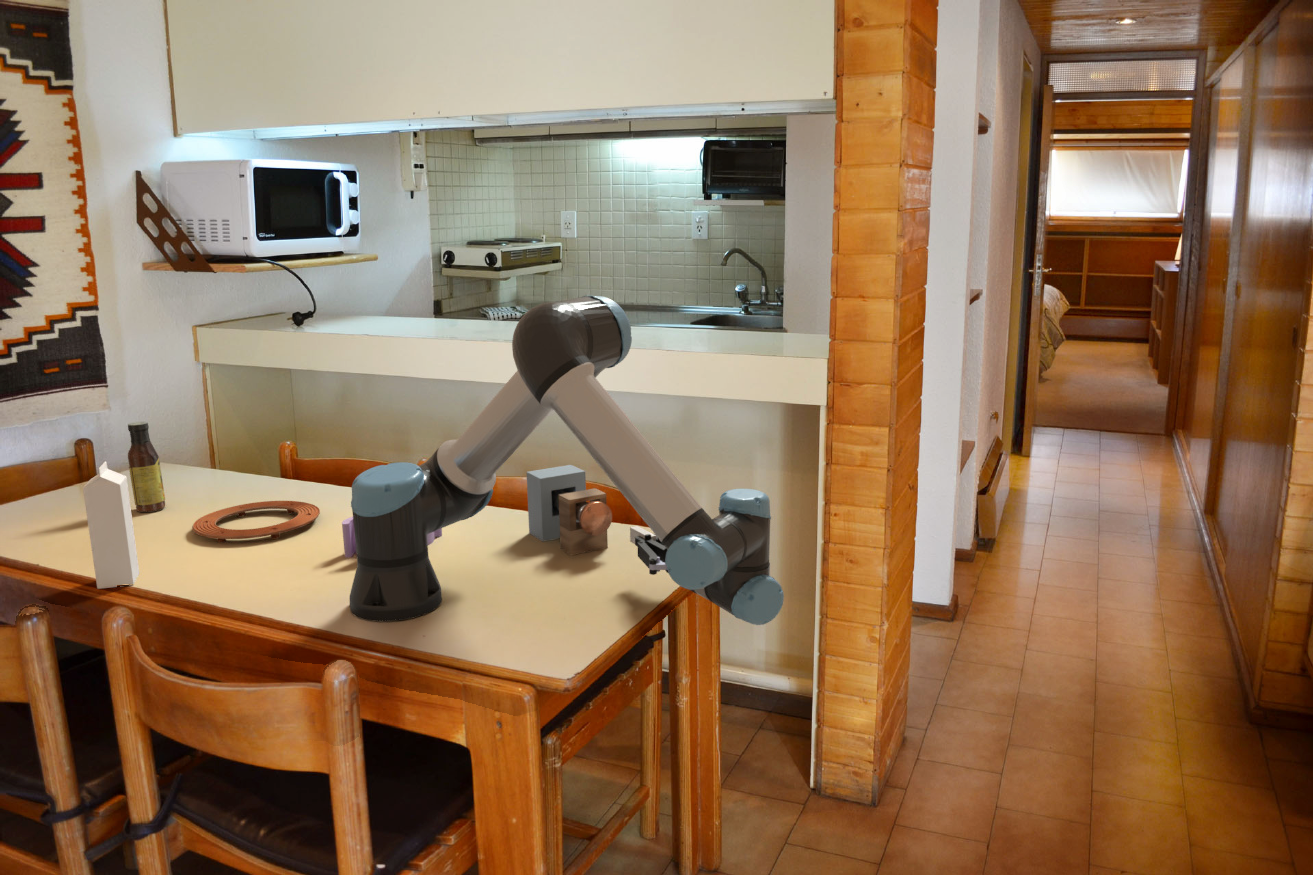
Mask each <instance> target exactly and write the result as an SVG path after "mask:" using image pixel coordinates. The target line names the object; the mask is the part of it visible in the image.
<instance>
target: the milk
mask: <svg viewBox="0 0 1313 875" xmlns="http://www.w3.org/2000/svg"><path fill="white" fill-rule="evenodd" d="M82 491H83V492H82V493H83V499H84V506H85V513H86V521H87V526H88V531H89V532H88V533H89V539H90V540H89V542H90V546H91V553H92V560H93V566H94V574H95V581H96V588H97V590H99V589H107V588H108V589H109V588H117V585H122V584H134V585H135V583H136V581H137V579H138V578H137V577H139V576H140V568H139V567H140V566H139V559H138V552H137V545H136V538H135V530H134V523H133V516H132V515H133V514H132V510H131V499H130V493H129V486H128V478H127V476H126V475H125V474H121V473H119V472H117V471H114V470H111V469H109V468H108V464H107V461H106V460H105V461H104V462H103V463H102V464H101V465H100V467H98V474H97V475H95V476H94V477H92V478H90V479H89V480H88V482H87V483H85V485H84V486H83V487H82ZM138 575H139V576H138ZM136 578H137V579H136ZM135 580H136V581H135ZM134 582H135V583H134Z"/></svg>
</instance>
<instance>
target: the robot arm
mask: <svg viewBox="0 0 1313 875" xmlns="http://www.w3.org/2000/svg"><path fill="white" fill-rule="evenodd" d="M632 341H633V339H632V327H631V323H630V319H629V318H628V315H627V314H626V312H625V310H624V309H623V308H622V307H621V306H620V305H619V304H618V303H617V302H616V301H614V300H612V299H610V298H609V297H607V296H603V295H590V294H589V295H587V294H586V295H583V296H580V297H576V298H571V299H565V300H559V301H550V302H545V303H544V302H543V303H539V304H537V305H535V306H533V307H532V308H530V309H529V310H528V311H526V312H524V315H523V316H521V318H520V319H519V321H518V322H517V324H516V326H515V328H514V332H513V335H512V342H511V343H512V344H511V347H512V357H513V359H514V360H513V361H514V364H515V367H516V369H517V370H516V371H515V372H514V373H513V375H512V376H511V377H510V378H509V379H508V380H507V382H506V383H505V384H504V385H503V387H502V388H501V389H500V390H499V391H498V392H497V393H496V394H495V396H494V397H493V398H492V399H491V400H490V401H489V403H487V405H486V406H485V407H484V408H483V410H482V411H481V412H480V413H479V414H478V415H477V417H476V418H474V420H473V421H472V422H471V423H470V425H469V426H468V427H467V428H466V429H465V431H464V432H462V433H461V435H460V436H459V437H458V438H457V439H455V438H454V439H449V440H446V441H444V442H442V443H441V445H440V446H439V447H438V448H437V449H436V450H435V451H434V452H433V454H432V455H431V456H430V457H429V458H428V459H427V460H425V462H424V463H421V464H420V465H419V464H418V465H417V464H415V463H411V462H405V461H402V462H390V463H388V464H386V465H385V464H380V465H376V466H374V467H371V468H369V469H367V470H364V471H363V472H361V473H360V474H358V475H357V476H356V477H355V479H354V480H353V482H352V485H351V501H350V503H351V504H350V507H351V511H352V517H353V522H354V532H355V542H356V553H355V554H356V561H357V563H356V564H357V565H356V569H355V574H354V578H353V581H352V585H351V589H350V593H349V600H348V601H349V609H350V612H351V614H352V615H353V616H355V617H356V618H359V619H362V620H366V621H371V622H396V621H397V622H398V621H405V620H409V619H414V618H417V617H418V618H419V617H421V616H424V615H426V614H428V613H431V612H433V611H434V610H436V609H438V607H439V606H441V604H442V602H443V597H442V596H443V595H442V586H441V583H440V581H439V579H438V577H437V574H436V571H435V570H434V567H433V565H432V563H431V560H430V556H429V545H428V541H427V534H429V533H431V532H434V531H436V530H438V529H441V528H442V529H443V528H446V527H448V526H450V525H452V524H456V523H458V522H460V521H464V520H465V521H466V520H468V519H469V518H472V517H474V516H476V515H477V514H478V513H479V512H481V511H482V510H484V509H485V507H487V505H488V504H489V503H490V501H491V499H492V496H493V493H494V489H493V488H494V486H495V485H496V481H497V475H496V472H497V471H498V470H499V469H500V468H501V467H502V466H503V465H504V463H506V462H507V460H509V458H510V457H511V456H512V455H513V454H514V453H515V452H516V451H517V449H519V447H520V446H521V445H522V444H523V443H524V442H525V441H526V440H527V439H528V438H529V437H530V435H531V434H533V432H534V431H535V430H536V429H537V428H538V426H539V425H541V423H543V421H544V420H545V419H546V418H547V417H548V416H549V415H550V414H551V412H552V411H553V410H554V412H555V414H557V415H558V417H559V418H560V420H561V421H562V422H563V423H564V424H565V425H566V426H567V428H568V429H569V430H570V432H571V433H572V434H573V436H574V437H575V438H576V439H577V440H578V442H580V444H581V445H582V446H583V447H584V449H585V450H586V451H587V452H588V454H589V455H590V456H591V457H592V459H594V461H595V463H596V464H597V465H598V466H599V467H600V469H601V470H602V471H603V472H604V473H605V475H606V476H607V477H608V478H609V479H610V481H611V482H612V483H613V484H614V486H615V487H616V488H617V489H618V490H619V492H620V493H621V494H622V496H623V497H624V498H625V499H626V500H627V501H628V503H629V504H630V506H632V509H634V510H635V511H636V512H637V514H638V515H639V516H640V518H642V521H643V522H644V523H645V524H646V525H647V526H648V527H649V528H650V530H651V531H652V532H650V531H648V530H646V529H645V528H642V527H640V526H639V525H634V526H630V527H629V539H630V540H629V541H630V542H631V543H632V544H633V545H635V546H636V547H637V557H638V559H640V561H642V563H643V564H644V565H645V566H646V567H647V568H648V570H649V574H650V575H652V576H655V575H657V574H658V573H659V572H661V571H665V572H666V574H668V575H669V577H670V578H671V580H672V581H674V583H676V584H677V585H678V586H680V587H681V588H683V589H687V590H689V591H691V592H692V593H695V594H697V595H698V596H700V597H702V598H704V599H706V600H708V601H709V602H711V603H712V604H714V605H716V606H717V607H720V608H721V609H723V610H724V611H726V612H727V613H729V614H731V615H732V616H734V617H735V618H736V619H739V620H742V621H743V622H745V623H749V624H751V625H754V626H762V625H763V626H764V625H766V624H769V623H770V622H772V621H773V620H774V619H775V618H776V617H777V616H778V615H779V614H780V613H781V610H782V608H783V605H784V599H785V596H784V595H785V594H784V591H783V588H782V585H781V584H780V583H779V581H777V580H776V578H774V577H773V576H771V575H770V574H771V573H770V572H771V562H770V543H771V538H770V537H771V520H772V516H771V501H770V497H769V496H768V494H767V493H766V492H763V491H761V490H758V489H754V488H753V489H752V488H733V489H728V490H726V491H724V492H723V493H721V496H720V497H719V498H720V499H719V507H718V513H719V515H717V516H715V517H713V518H711V516H710V515H709V514H708V513H707V512H706V511H705V509H704V508H703V507H702V506H701V505H700V504H699V502H698V501H697V500H696V499H695V497H694V496H693V495H692V494H691V492H690V491H689V490H688V489H687V488H686V486H685V485H684V484H683V483H682V481H681V480H680V479H679V478H678V477H677V476H676V474H675V473H674V472H673V470H671V468H670V467H669V465H668V464H667V463H666V462H665V461H664V460H663V458H662V457H661V456H660V455H659V453H658V452H657V451H656V450H655V449H654V447H653V446H652V445H651V444H650V443H649V441H648V440H647V439H646V438H645V436H644V435H643V434H642V432H640V430H639V429H638V428H637V427H636V426H635V424H634V422H632V421H631V420H630V418H629V417H628V416H627V415H626V413H625V412H624V411H623V410H622V408H621V407H620V406H619V404H617V402H616V401H615V400H614V399H613V397H612V396H611V395H610V393H608V391H607V390H606V389H605V388H604V386H603V385H602V384H601V383H600V382H599V381H598V379H597V377H598V376H599V374H601V373H602V372H603V371H604V370H605V369H610V368H614V367H616V365H619V364H620V363H622V362H623V361H624V360H625V358H626V357H627V356H628V354H629V352H630V349H631V347H632V346H631V345H632Z"/></svg>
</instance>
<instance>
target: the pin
mask: <svg viewBox="0 0 1313 875" xmlns="http://www.w3.org/2000/svg"><path fill="white" fill-rule="evenodd" d="M565 493H568V492H566V491H564V490H562V489H558V490H552V491H551V496H552V507H554V508H556V509H558V510H559V495H560V494H565ZM575 508H576V520H578V521H579V522H580V526H581V528H582V529H583V530H584V531H585V532H586V533H588V534H590V535H600V534H602V533H604V532H605V531H606V530H607V531H608V529H609V528H610V527H611V524H612V521H613V512H612V510H611V508H610V506H609V505H607V503H606V504H604V503H602V502H600V501H593V502H590V501H584V502H579V503H575Z"/></svg>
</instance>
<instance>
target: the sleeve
mask: <svg viewBox="0 0 1313 875" xmlns="http://www.w3.org/2000/svg"><path fill="white" fill-rule="evenodd" d="M584 501H586V502H589V503H590V502H593V501H600V502H602V503H604V504H606V505H607V493H606V492H604V491H602V490H599V489H597V488H590V489H586V490H583V491H577V492H571V493H565V494H560V495H559V519H560V538H559V540H560V541H559V543H560V545H559V546H560V549H561V550H562V551H564V552H565V553H567V554H568V555H570V556H574V555H577V554H578V555H579V554H584V553H589V552H594V551H598V550H602V549H608V546H609V543H608V541H609V540H608V529H607V530H606V531H605V532H604V533H602V534H600V535H590V534H588V533H586V532H585V531H584V530H583V529H582V528H581V526H580V522H576V508H575V503H579V502H584Z"/></svg>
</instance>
